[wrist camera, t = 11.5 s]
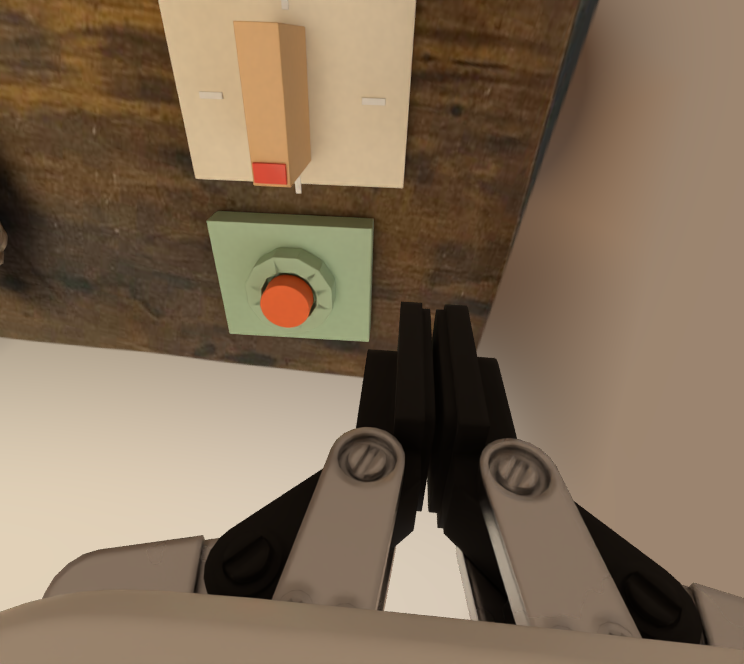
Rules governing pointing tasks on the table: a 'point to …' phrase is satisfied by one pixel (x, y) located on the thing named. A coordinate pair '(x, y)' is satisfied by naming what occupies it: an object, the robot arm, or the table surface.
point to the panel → (325, 85)
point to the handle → (274, 99)
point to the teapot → (2, 243)
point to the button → (287, 301)
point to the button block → (295, 270)
